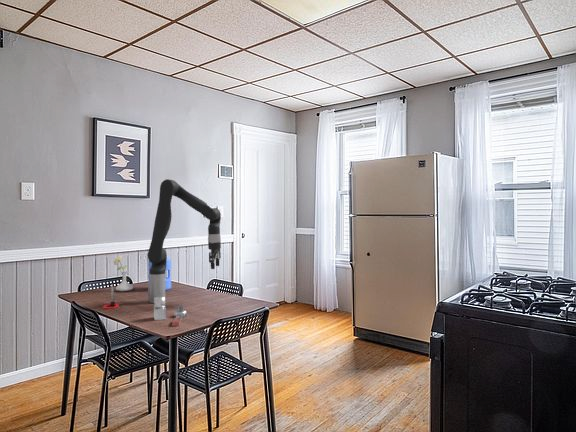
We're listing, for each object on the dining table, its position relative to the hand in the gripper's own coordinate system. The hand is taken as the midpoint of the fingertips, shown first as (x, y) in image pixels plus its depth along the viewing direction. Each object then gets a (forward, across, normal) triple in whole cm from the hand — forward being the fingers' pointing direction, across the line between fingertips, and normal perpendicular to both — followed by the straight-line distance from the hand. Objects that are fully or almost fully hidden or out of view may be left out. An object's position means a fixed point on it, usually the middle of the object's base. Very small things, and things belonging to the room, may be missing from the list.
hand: (215, 267), depth 254 cm
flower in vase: (+22, -19, -74) cm, 80 cm away
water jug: (+23, -29, -52) cm, 64 cm away
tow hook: (+19, +25, -55) cm, 63 cm away
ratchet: (+18, +44, -5) cm, 48 cm away
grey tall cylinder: (+18, +43, -16) cm, 49 cm away
